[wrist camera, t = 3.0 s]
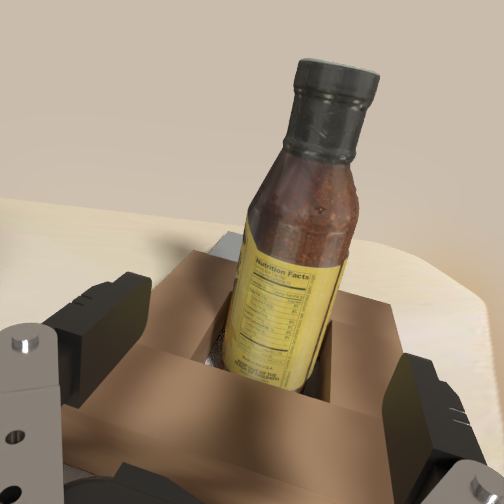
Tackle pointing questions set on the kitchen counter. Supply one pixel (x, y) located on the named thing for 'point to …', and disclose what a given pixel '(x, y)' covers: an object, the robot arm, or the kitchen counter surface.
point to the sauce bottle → (299, 231)
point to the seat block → (241, 404)
